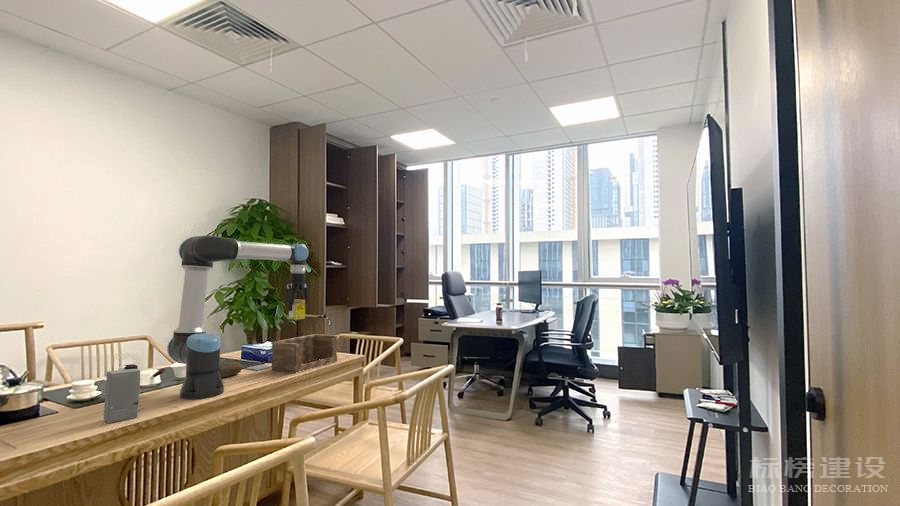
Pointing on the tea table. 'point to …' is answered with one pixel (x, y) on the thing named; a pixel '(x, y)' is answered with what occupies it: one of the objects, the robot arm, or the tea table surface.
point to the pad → (259, 367)
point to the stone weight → (229, 369)
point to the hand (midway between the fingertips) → (296, 316)
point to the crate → (303, 352)
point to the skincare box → (121, 395)
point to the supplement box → (298, 310)
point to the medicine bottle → (129, 368)
